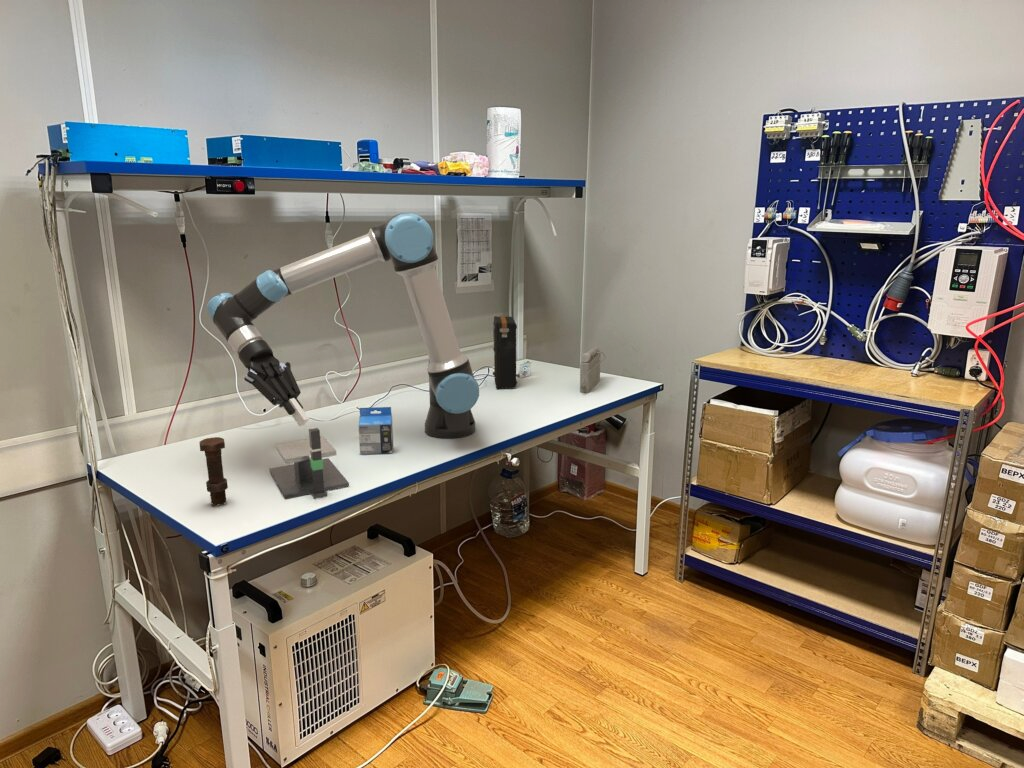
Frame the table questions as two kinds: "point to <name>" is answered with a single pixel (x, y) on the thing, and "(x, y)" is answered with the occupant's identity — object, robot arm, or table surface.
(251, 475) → the table surface
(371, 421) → the label tape box
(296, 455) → the pan
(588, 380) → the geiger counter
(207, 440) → the bolt
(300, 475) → the stand
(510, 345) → the black case
